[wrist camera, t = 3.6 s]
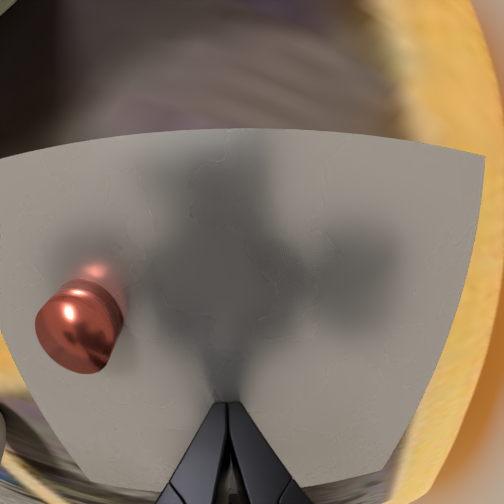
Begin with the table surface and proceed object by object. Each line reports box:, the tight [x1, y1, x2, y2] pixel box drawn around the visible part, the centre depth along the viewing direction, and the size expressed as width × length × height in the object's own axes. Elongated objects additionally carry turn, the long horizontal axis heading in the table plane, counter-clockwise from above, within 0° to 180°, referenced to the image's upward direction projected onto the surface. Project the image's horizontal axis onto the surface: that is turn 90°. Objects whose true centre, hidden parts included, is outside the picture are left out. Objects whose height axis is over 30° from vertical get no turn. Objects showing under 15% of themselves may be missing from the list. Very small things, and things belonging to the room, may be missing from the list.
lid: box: [0, 129, 485, 504], centre depth 9 cm, size 17×14×2 cm
